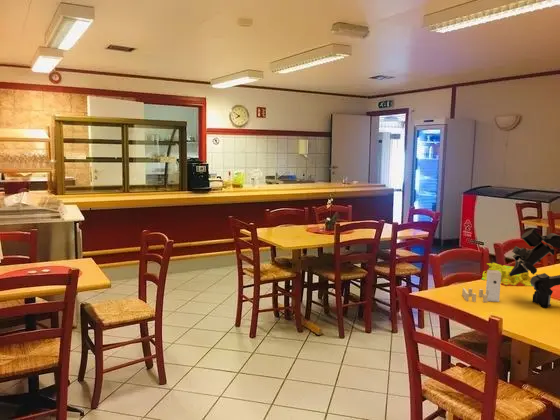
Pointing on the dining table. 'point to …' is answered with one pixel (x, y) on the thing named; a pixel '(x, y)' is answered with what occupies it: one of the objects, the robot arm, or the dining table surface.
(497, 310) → the dining table surface
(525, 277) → the decorative piece
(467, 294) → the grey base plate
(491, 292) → the pillar on grey plate
